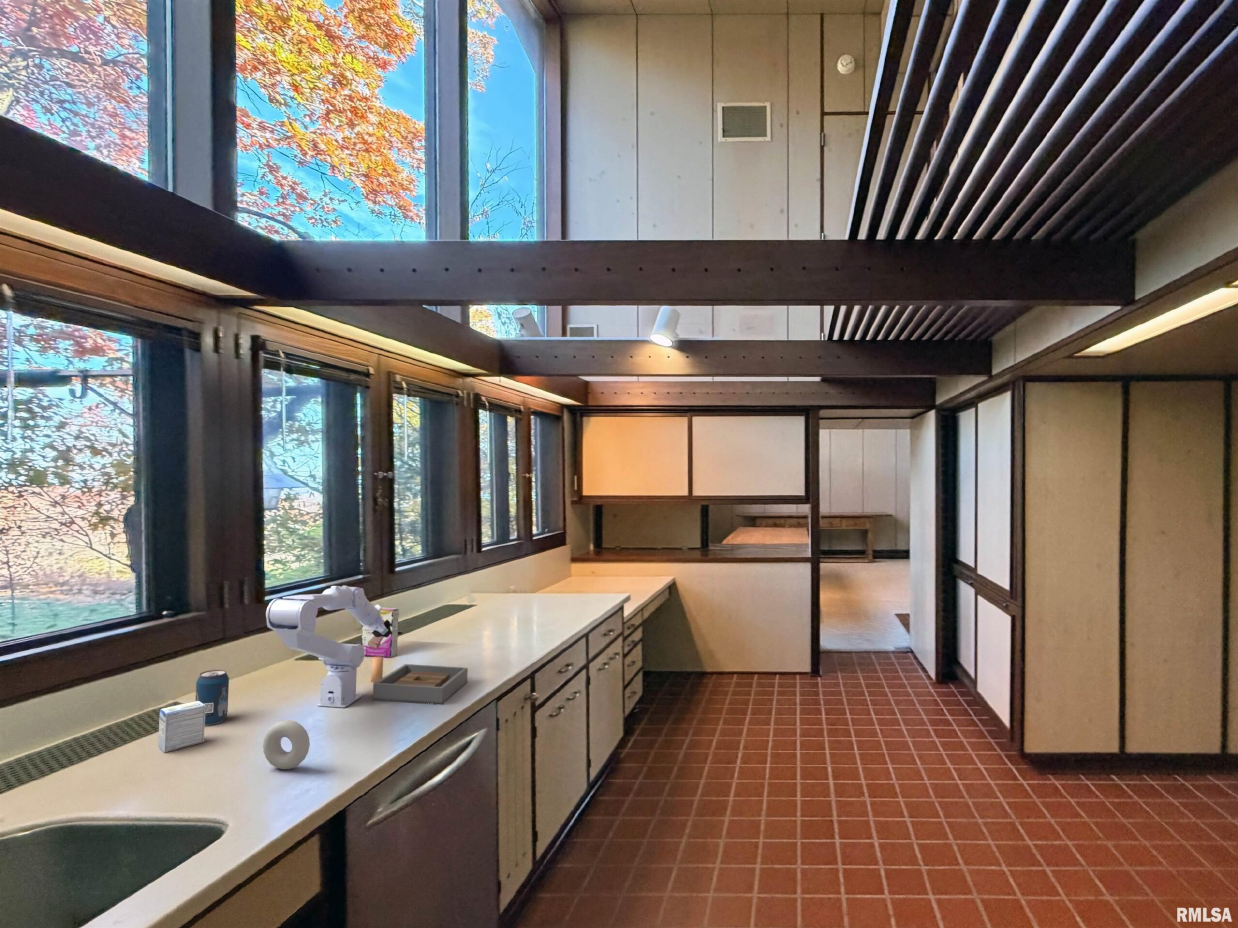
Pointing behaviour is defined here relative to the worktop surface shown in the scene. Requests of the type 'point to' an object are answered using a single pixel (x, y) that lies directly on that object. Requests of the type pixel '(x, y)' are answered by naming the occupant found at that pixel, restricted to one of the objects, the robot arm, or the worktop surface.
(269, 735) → the donut
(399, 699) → the tray
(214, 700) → the soda can
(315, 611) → the robot arm
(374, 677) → the peg
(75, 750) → the worktop surface
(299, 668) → the worktop surface
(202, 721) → the medicine box
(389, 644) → the candy bar box
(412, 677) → the socket block
